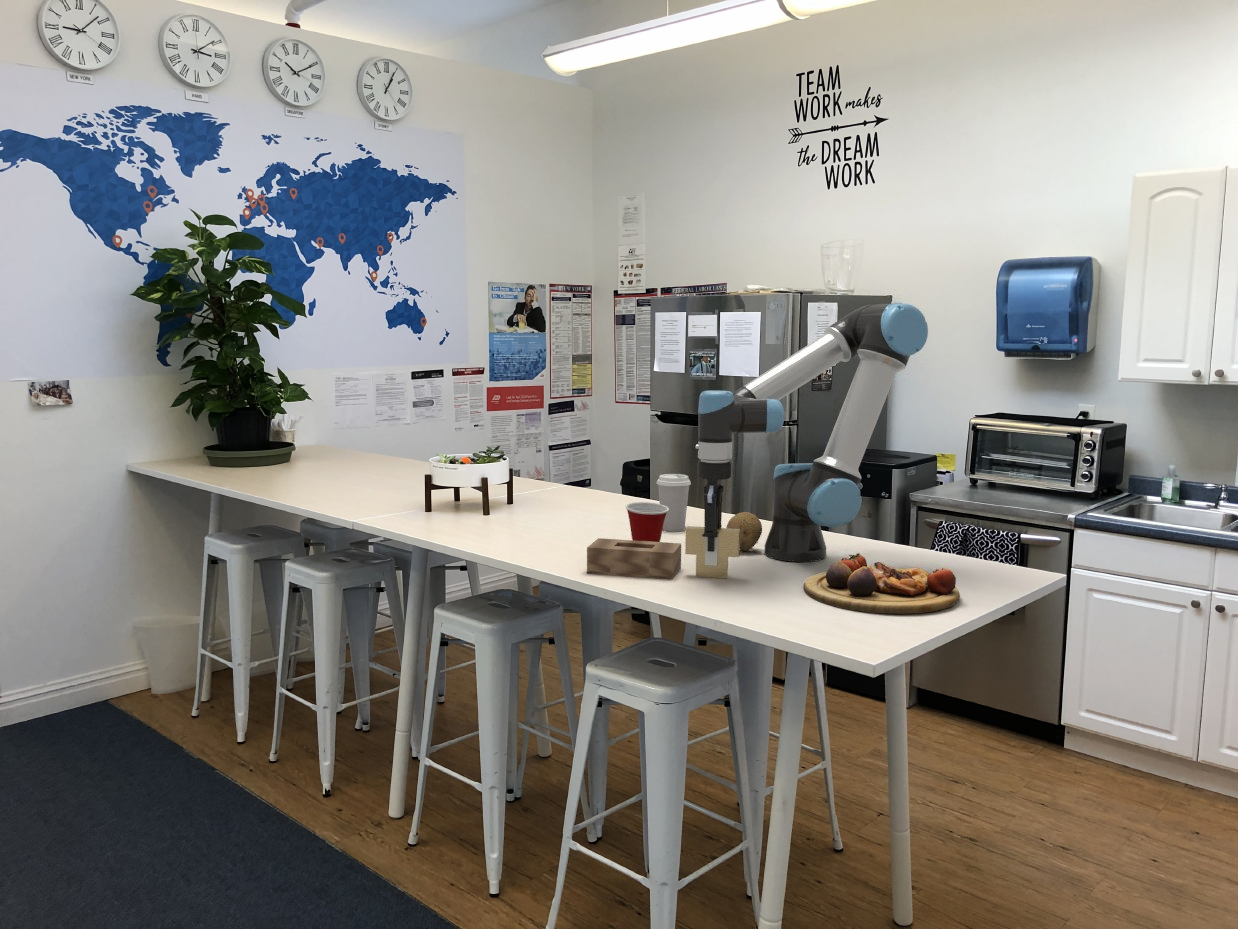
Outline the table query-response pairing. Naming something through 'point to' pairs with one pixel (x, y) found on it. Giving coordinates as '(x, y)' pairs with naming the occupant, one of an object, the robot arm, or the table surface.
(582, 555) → the table surface
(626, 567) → the slotted block
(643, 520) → the plastic cup
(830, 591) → the wooden plate with food
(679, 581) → the table surface
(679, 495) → the coffee cup
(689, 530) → the light wooden block
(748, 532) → the natural sponge
